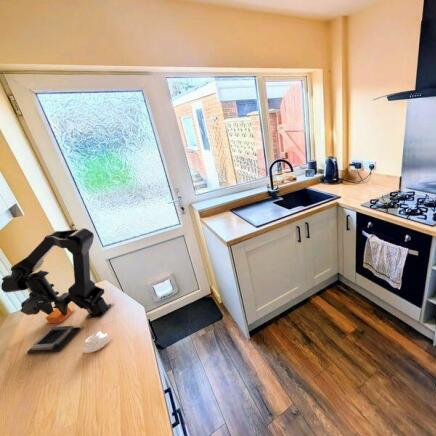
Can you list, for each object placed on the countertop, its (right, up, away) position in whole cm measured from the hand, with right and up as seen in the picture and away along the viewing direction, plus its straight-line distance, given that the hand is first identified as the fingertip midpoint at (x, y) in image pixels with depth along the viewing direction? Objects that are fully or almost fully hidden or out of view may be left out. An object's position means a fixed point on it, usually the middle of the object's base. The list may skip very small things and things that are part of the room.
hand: (59, 315), depth 105 cm
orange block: (0, -1, +1) cm, 1 cm away
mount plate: (+9, -5, -11) cm, 15 cm away
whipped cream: (+28, -5, -15) cm, 32 cm away
